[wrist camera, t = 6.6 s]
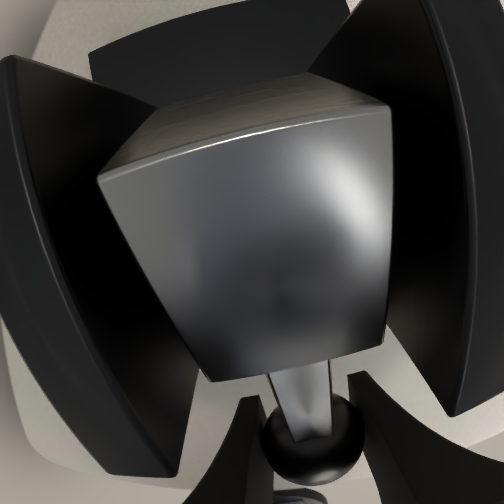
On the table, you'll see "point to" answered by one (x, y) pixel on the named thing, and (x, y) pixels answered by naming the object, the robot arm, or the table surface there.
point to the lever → (268, 245)
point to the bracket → (218, 78)
